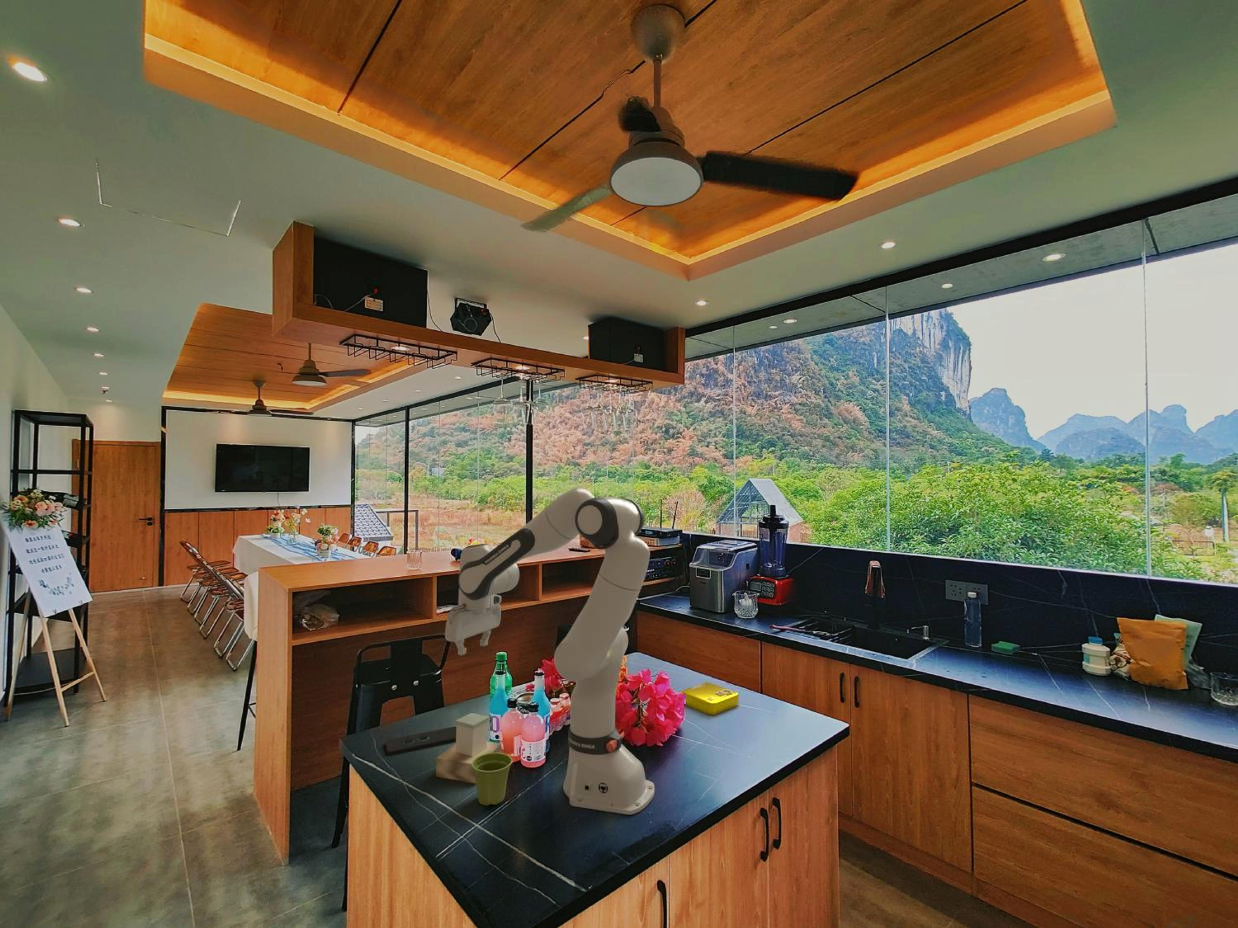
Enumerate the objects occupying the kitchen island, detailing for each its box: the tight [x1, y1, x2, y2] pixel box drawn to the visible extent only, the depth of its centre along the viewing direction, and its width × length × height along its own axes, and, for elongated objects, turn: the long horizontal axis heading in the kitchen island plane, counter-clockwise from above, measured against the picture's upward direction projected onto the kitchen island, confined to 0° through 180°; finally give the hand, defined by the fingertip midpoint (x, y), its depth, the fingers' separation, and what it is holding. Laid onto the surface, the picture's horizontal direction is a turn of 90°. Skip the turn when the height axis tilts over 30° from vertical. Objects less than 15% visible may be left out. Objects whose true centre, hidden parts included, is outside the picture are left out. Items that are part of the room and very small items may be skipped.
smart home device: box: [384, 726, 457, 756], centre depth 161 cm, size 8×2×20 cm
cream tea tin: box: [455, 712, 490, 757], centre depth 146 cm, size 6×6×8 cm
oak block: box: [435, 741, 502, 784], centre depth 146 cm, size 12×12×5 cm
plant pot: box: [472, 752, 513, 806], centre depth 132 cm, size 9×9×9 cm
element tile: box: [681, 681, 740, 716], centre depth 191 cm, size 15×15×5 cm
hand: (473, 649), depth 158 cm, fingers open, 8 cm apart
